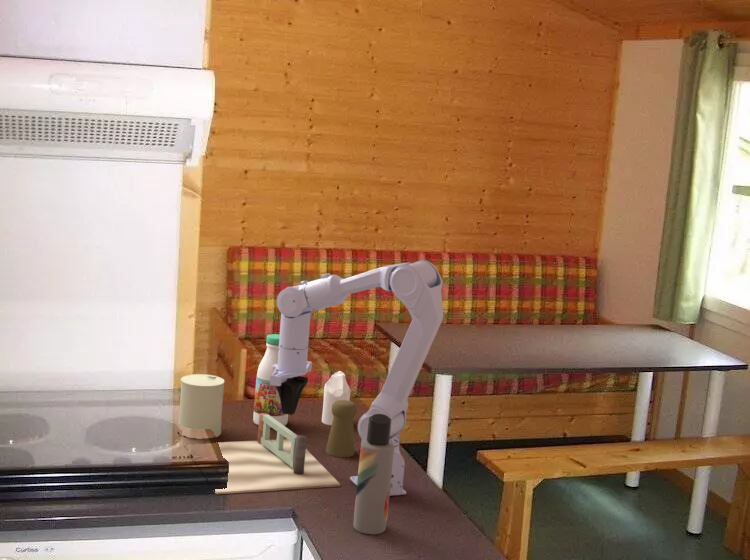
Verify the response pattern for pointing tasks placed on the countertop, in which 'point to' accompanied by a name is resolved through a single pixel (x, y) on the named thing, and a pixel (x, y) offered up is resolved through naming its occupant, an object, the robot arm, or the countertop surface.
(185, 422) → the can
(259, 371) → the milk bottle
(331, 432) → the cork
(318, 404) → the countertop surface
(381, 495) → the lotion bottle
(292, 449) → the bar
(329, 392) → the white chalk piece
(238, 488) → the base
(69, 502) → the countertop surface
